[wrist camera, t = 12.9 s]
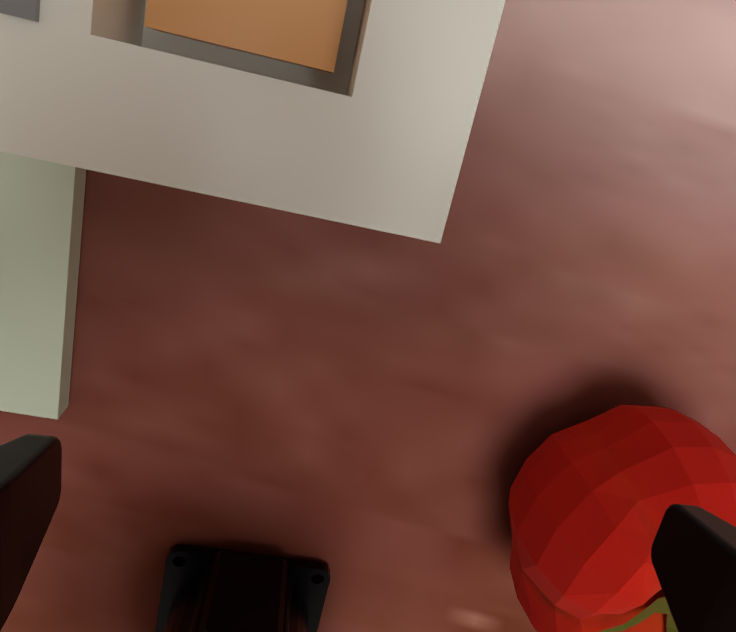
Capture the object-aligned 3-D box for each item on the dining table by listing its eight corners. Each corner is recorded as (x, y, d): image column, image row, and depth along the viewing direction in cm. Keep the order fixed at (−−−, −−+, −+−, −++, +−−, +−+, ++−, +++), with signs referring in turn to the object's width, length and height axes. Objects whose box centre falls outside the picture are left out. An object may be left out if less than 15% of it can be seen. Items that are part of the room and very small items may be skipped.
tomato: (654, 581, 27) (769, 751, 20) (461, 555, 26) (512, 727, 19) (742, 393, 24) (913, 517, 17) (529, 353, 23) (620, 469, 16)
